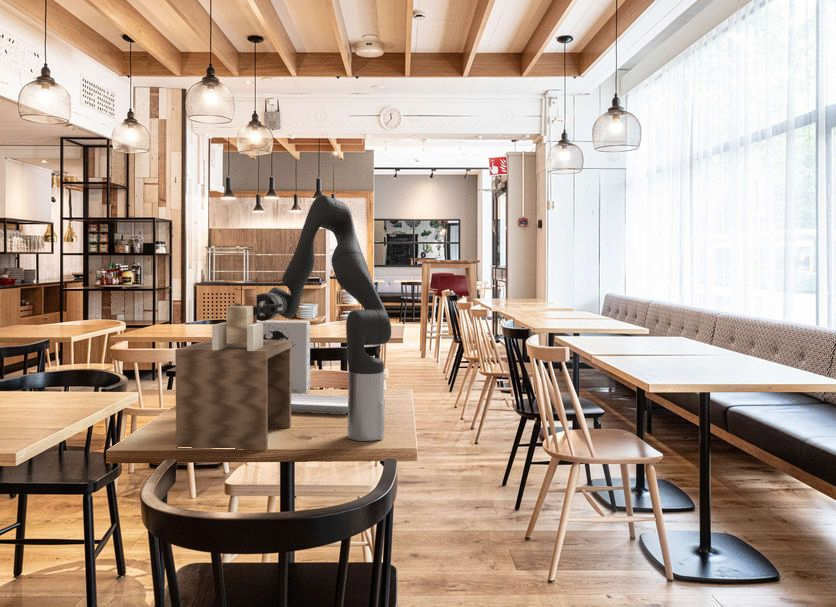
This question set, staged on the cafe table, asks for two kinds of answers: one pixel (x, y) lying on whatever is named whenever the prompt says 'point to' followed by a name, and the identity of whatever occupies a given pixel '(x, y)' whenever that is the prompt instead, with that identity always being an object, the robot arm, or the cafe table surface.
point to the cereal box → (293, 349)
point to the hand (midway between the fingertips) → (247, 310)
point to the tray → (319, 403)
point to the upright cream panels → (252, 336)
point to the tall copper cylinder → (241, 318)
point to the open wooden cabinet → (232, 394)
